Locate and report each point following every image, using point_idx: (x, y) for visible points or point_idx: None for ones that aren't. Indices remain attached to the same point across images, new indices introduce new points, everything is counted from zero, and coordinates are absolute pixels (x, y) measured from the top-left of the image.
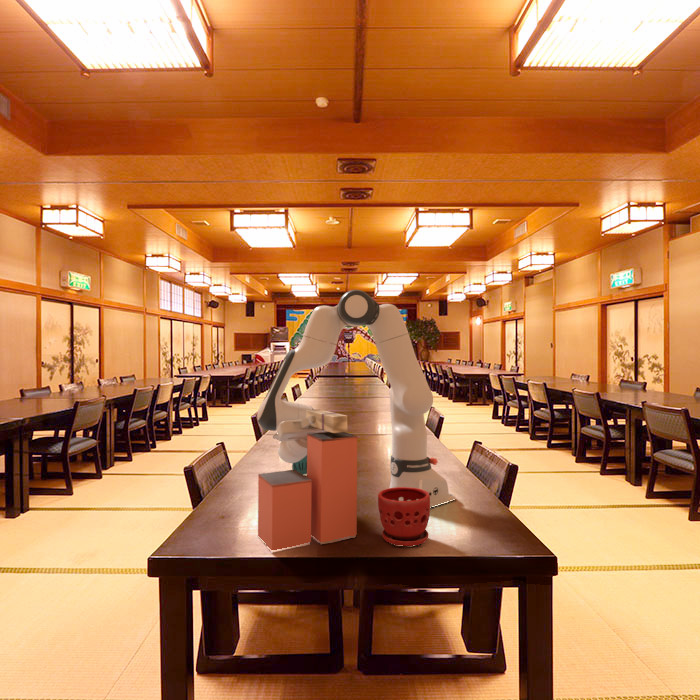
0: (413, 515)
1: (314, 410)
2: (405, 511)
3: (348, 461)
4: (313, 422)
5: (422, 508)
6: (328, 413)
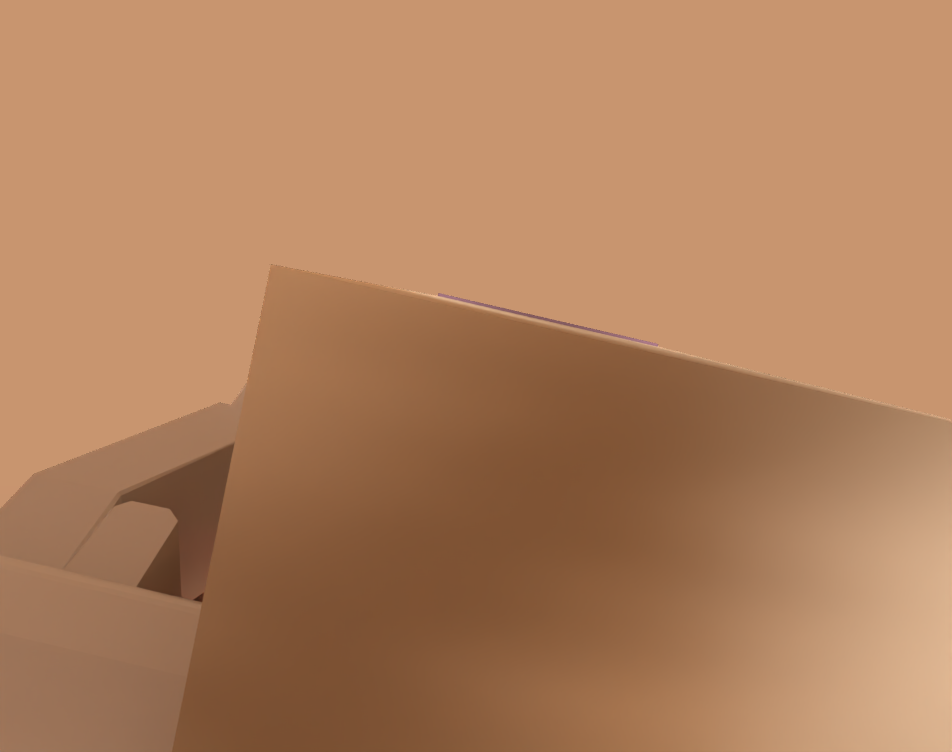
0: None
1: (654, 349)
2: None
3: None
4: None
5: None
6: (555, 320)
